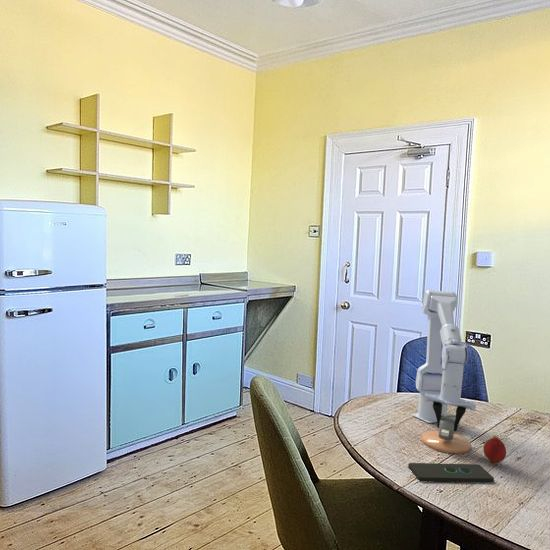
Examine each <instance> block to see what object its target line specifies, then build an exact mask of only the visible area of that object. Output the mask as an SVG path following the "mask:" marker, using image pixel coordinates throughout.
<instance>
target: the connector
mask: <svg viewBox="0 0 550 550" xmlns="http://www.w3.org/2000/svg"><path fill="white" fill-rule="evenodd" d="M455 420H456V414H454V413H451V412H447V413H443V414H442V416H441V419H440V426H439V428H438V431H439V438H441V439H444V440H452V439H453V436H454V434H456V433H455V431H454V426H455Z"/></svg>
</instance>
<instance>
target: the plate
mask: <svg viewBox="0 0 550 550" xmlns="http://www.w3.org/2000/svg"><path fill="white" fill-rule="evenodd" d="M421 442H422V444H424V445H425V446H427V447H428V448H430V449H432V450H435V451H438V452H441V453H446V454H447V453H448V454H454V455H455V454H457V455H458V454H459V455H460V454H467V453H468V452H470V451H471V448H472V443H471V442H470V440H468V439H467V438H465V437H463V436H462V435H459V434H457V433H454V436H453V439H452V440H444V439H441V438H439V430H428V431H425V432H423V433H422V434H421Z"/></svg>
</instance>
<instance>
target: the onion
mask: <svg viewBox="0 0 550 550" xmlns="http://www.w3.org/2000/svg"><path fill="white" fill-rule="evenodd" d="M482 450H483V453H484V456H485V457H486V458H487V459H488V460H489V462H490V463H491V464H493V465H494V464H495V465H496V464H499V463H500V462H502V461H503V460H504V459H506V457H507V448H506V446H505V444H504V442H503V441H502V440H501V439H500V438H499V437H498V436H497V435H496V434H494V435H493V437H492V438H489V439H488V440H486V442H485V443H484V444H483V448H482Z"/></svg>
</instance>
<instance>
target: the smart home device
mask: <svg viewBox="0 0 550 550" xmlns="http://www.w3.org/2000/svg"><path fill="white" fill-rule="evenodd" d="M407 466H408V467H407V468H408V470H409V471H410V470H411V471H412V472H411V471H410V472H411V473H412V474H413V476H414V475H415V476H416V477H415V476H414V477H415V478H416V479H417V481H418V480H420V481H419V482H422V481H434V482H433V483H476V484H477V483H478V484H479V483H481V484H482V483H484V484H486V483H487V484H489V483H490V484H491V483H494V482H495V481H494V476H493V475H491V473H489V471H487V470H486V469H485V468H484V467H483V466H482V465H481V464H476V463H475V464H474V463H438V462H437V463H432V462H429V463H428V462H427V463H426V462H425V463H424V462H422V463H421V462H409V463H408V465H407Z"/></svg>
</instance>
